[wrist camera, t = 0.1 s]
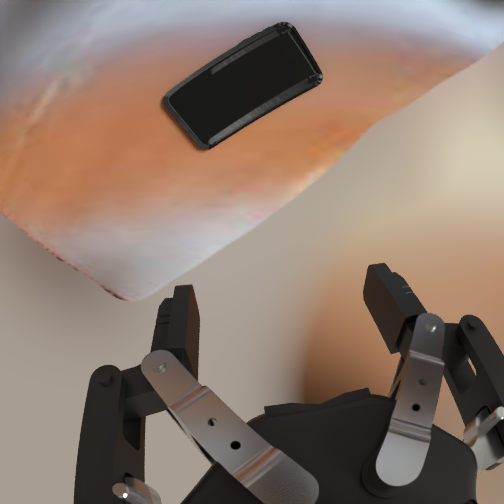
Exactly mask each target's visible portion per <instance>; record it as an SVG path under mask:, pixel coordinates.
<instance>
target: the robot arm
mask: <svg viewBox="0 0 504 504" xmlns="http://www.w3.org/2000/svg"><path fill="white" fill-rule="evenodd" d="M363 297H364V301H365V304H366V306H367V307H368V309H369V311H370V313H371V315H372V317H373V319H374V321H375V323H376V325H377V327H378V329H379V331H380V333H381V335H382V337H383V339H384V341H385V343H386V345H387V347H388V349H389V351H390V353H391V354H393V353H397V352H400V354H401V357H400V360H399V363H398V366H397V369H396V373H395V376H394V379H393V382H392V385H391V388H390V391H389V393H388V396H387V397H385V396H381V395H374V394H370V391H369V389H368V388H364V389H360V390H356V391H352V392H347V393H344V394H341V395H339V396H338V397H335V398H333V399H331V400H329V401H326V402H324V403H322V404H301V403H287V404H280V405H272V406H265V407H264V410H265V414H262V415H259V416H257V417H255V418H253V419H251V420H250V421H248V422H247V423H245V422H244V421H243V420H242V419H241V418H240V417H238V416H237V415H236V414H235V413H234V412H233V411H232V410H231V409H230V408H229V407H228V406H227V405H226V404H225V403H224V402H223V401H222V400H221V399H220V398H219V397H218V396H217V395H216V394H215V393H214V392H213V391H212V390H211V389H210V388H208V387H207V386H202V385H201V384H199V382H198V358H199V357H198V356H199V332H200V316H199V310H198V305H197V302H196V297H195V293H194V289H193V286H192V285H180V286H175V290H174V295H173V298H165V299H164V301H163V302H162V303H161V305H160V306H159V309H158V315H157V319H156V325H155V330H154V336H153V341H152V346H151V352H150V353H149V354H148V355H146V356H145V357H144V359H143V360H142V363H141V364H140V365H138V366H136V367H133V368H129V369H126V370H123V371H120V370H119V369H118V368H117V367H115V366H113V365H104V366H101V367H99V368H98V369H96V370H95V371H94V372H93V374H92V376H91V378H90V382H89V387H88V392H87V397H86V402H85V408H84V414H83V421H82V427H81V433H80V441H79V448H78V456H77V465H76V476H75V489H74V504H162V503H161V499H160V496H159V494H158V493H157V492H156V491H155V490H154V489H153V488H151V487H150V486H148V485H147V484H145V482H144V481H145V479H144V460H145V458H144V457H145V421H146V420H145V419H146V416H148V415H151V414H154V413H158V412H161V411H164V410H166V411H167V413H168V414H169V415H170V416H171V418H172V419H173V420H174V421H175V423H176V424H177V425H178V426H179V427H180V429H181V430H182V431H183V432H184V433H185V435H186V436H187V437H188V438H189V439H190V440H191V442H192V443H193V444H194V446H196V448H197V449H198V450H199V451H200V453H201V454H202V455H203V456H204V457H205V458H206V459H207V460H208V461H209V462H210V463H211V465H212V466H211V467H210V468H209V470H208V471H207V472H206V473H205V475H204V476H203V477H202V478H201V480H200V481H199V482H198V483H197V485H196V486H195V487H194V488H193V489H192V491H191V492H190V493H189V494H188V495H187V497H186V498H185V499H184V500H183V501H182V503H181V504H478V503H477V500H476V477H477V473H479V472H480V471H482V470H484V469H485V470H491V469H494V468H495V467H497V466H499V465H500V464H502V463H503V462H504V355H503V354H502V352H501V350H500V349H499V347H498V345H497V344H496V342H495V340H494V339H493V337H492V336H491V334H490V332H489V331H488V329H487V328H486V326H485V325H484V323H483V322H482V321H481V320H480V319H479V318H478V317H476V316H473V315H465V316H463V317H462V318H461V320H460V322H459V324H456V323H455V324H454V323H444V321H443V320H442V319H441V318H440V317H439V316H437V315H435V314H433V313H427V311H426V310H425V308H424V307H423V305H422V304H421V302H420V301H419V299H418V298H417V296H416V295H415V294H414V293H413V291H412V289H411V288H410V287H409V285H408V284H407V282H406V281H405V279H404V278H403V277H401V276H400V275H398V274H397V273H395V272H393V273H392V272H391V270H390V269H389V268H388V266H387V265H386V264H385V263H379V264H373V265H369V266H368V269H367V275H366V279H365V285H364V289H363ZM469 358H470V360H471V362H472V364H473V365H474V367H475V369H476V375H475V373H474V372H473V370H472V368H471V366H470V364H469V362H468V359H469ZM443 375H444V377H445V379H446V382H447V384H448V386H449V388H450V390H451V393H452V395H453V397H454V400H455V402H456V404H457V407H458V409H459V412H460V414H461V416H462V419H463V422H464V424H465V430H464V439H463V441H461V440H459V439H457V438H456V437H454V436H452V435H451V434H449V433H447V432H446V431H444V430H442V429H441V428H439V427H437V426H436V425H434V424H432V422H433V418H434V415H435V411H436V406H437V402H438V397H439V392H440V387H441V382H442V376H443Z"/></svg>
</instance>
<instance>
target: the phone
mask: <svg viewBox="0 0 504 504" xmlns="http://www.w3.org/2000/svg"><path fill="white" fill-rule="evenodd" d="M322 79H323V74H322V72H321V70H320V68H319V66H318V65H317V63H316V61H315V59H314V58H313V56H312V54H311V53H310V51H309V49H308V48H307V46H306V44H305V43H304V41H303V40H302V38H301V36H300V35H299V33H298V32H297V30H296V28H295V27H294V26H293V25H292V24H290V23H287V22H280V23H277V24H275V25H273V26H271V27H268V28H266V29H265V30H264V31H262V32H258V33H256V34H254V35H253V36H251V38H247V39H245V40H243V41H242V42H241V43H240V44H239V45H237V46H235V47H233V48H232V49H230V50H228V51H227V52H225V53H224V54H222V55H220V56H219V57H217V58H216V59H214V60H212V61H211V62H209V63H208V64H206V65H205V66H203V67H202V68H200V69H199V70H197V71H196V72H194V73H193V74H192V75H190V76H189V77H187V78H186V79H184V80H183V81H182V82H180V83H179V84H177V85H176V86H175V87H173V88H172V89H171V90H169V91H168V92H167V93H166V95H165V97H164V105H165V106H166V108H167V109H168V110H169V111H170V112H171V114H172V115H173V116H174V117H175V118H176V120H177V121H178V122H179V123H180V124H181V126H182V127H183V128H184V129H185V131H186V132H187V133H188V134H189V135H190V137H191V138H192V139H193V140H194V141H195V143H196V144H197V145H198V146H199V147H200V148H202V149H211V148H213V147H215V146H216V145H218V144H219V143H221V142H222V141H224V140H225V139H227V138H228V137H230V136H232V135H233V134H235V133H236V132H238V131H239V130H241V129H243V128H244V127H246V126H248V125H249V124H251V123H252V122H254V121H256V120H257V119H259V118H261V117H262V116H264V115H266V114H268V113H269V112H271V111H273V110H274V109H276V108H278V107H280V106H281V105H283V104H285V103H287V102H289V101H290V100H292V99H294V98H296V97H298V96H299V95H301V94H303V93H305V92H307V91H309V90H311V89H313V88H315V87H316V86H318V85H319V84H320V83H321V82H322Z"/></svg>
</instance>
